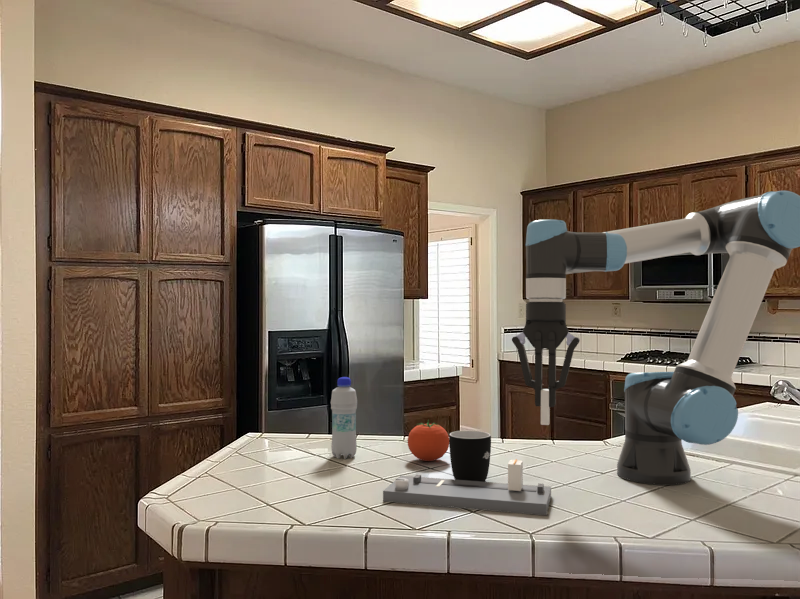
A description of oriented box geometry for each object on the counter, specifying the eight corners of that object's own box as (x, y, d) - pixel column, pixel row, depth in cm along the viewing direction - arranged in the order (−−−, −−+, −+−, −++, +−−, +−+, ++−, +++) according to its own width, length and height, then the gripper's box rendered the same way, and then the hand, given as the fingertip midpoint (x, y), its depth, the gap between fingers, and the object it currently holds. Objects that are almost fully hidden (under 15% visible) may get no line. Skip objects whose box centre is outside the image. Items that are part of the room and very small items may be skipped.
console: (551, 496, 131) (551, 478, 131) (546, 515, 120) (546, 494, 120) (400, 485, 140) (400, 467, 140) (383, 501, 129) (383, 481, 129)
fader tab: (522, 486, 131) (522, 459, 131) (520, 490, 127) (520, 463, 127) (510, 485, 131) (510, 458, 131) (508, 490, 128) (507, 463, 128)
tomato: (458, 462, 160) (458, 420, 160) (424, 468, 155) (423, 425, 155) (432, 454, 169) (432, 414, 169) (399, 459, 163) (399, 418, 163)
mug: (488, 488, 137) (488, 439, 138) (445, 485, 140) (445, 437, 140) (495, 474, 149) (495, 428, 149) (455, 471, 151) (455, 427, 151)
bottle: (362, 455, 167) (362, 376, 168) (346, 461, 162) (346, 378, 162) (341, 452, 171) (341, 374, 171) (325, 457, 165) (325, 377, 166)
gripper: (581, 301, 129) (580, 422, 129) (514, 300, 133) (513, 418, 133) (580, 300, 122) (579, 429, 122) (509, 300, 126) (508, 425, 126)
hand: (545, 423), depth 127 cm, fingers closed
